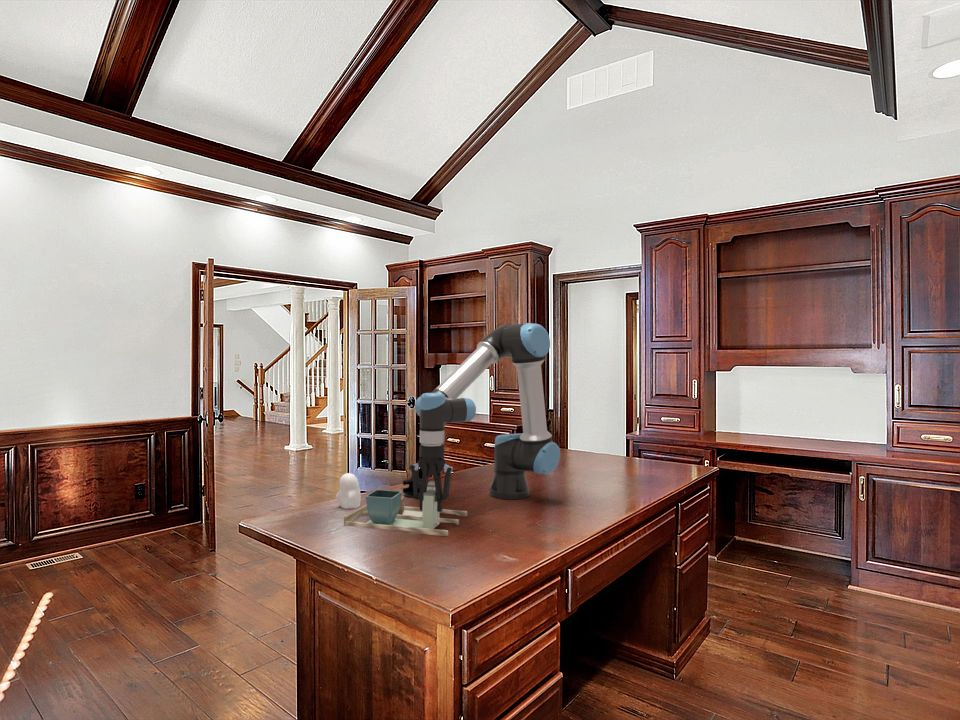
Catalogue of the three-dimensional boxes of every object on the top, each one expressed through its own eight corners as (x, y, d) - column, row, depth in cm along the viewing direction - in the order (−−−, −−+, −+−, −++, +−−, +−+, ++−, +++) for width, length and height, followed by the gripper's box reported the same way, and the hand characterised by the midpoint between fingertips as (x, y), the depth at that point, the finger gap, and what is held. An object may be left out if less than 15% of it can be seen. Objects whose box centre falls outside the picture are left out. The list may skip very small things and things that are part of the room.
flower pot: (392, 527, 168) (392, 497, 168) (364, 525, 170) (365, 495, 170) (402, 519, 176) (402, 491, 176) (375, 517, 178) (376, 489, 178)
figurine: (334, 509, 189) (334, 473, 189) (349, 504, 196) (349, 469, 196) (350, 512, 186) (350, 476, 186) (365, 506, 193) (365, 472, 193)
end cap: (434, 498, 206) (434, 479, 206) (419, 501, 201) (419, 482, 201) (416, 493, 213) (417, 475, 213) (401, 496, 208) (402, 478, 208)
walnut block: (403, 511, 186) (404, 496, 186) (402, 515, 181) (402, 499, 181) (388, 510, 186) (389, 495, 186) (386, 515, 181) (386, 499, 181)
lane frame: (467, 515, 183) (467, 506, 183) (447, 536, 162) (447, 526, 162) (374, 508, 191) (374, 499, 191) (343, 526, 170) (343, 516, 170)
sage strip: (440, 524, 174) (441, 488, 174) (430, 533, 164) (431, 495, 164) (374, 518, 179) (375, 483, 179) (361, 527, 169) (361, 490, 169)
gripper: (460, 443, 171) (459, 520, 171) (411, 441, 175) (410, 516, 175) (453, 447, 164) (452, 527, 164) (402, 444, 168) (401, 522, 168)
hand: (430, 521), depth 169 cm, fingers closed on sage strip, 3 cm apart
